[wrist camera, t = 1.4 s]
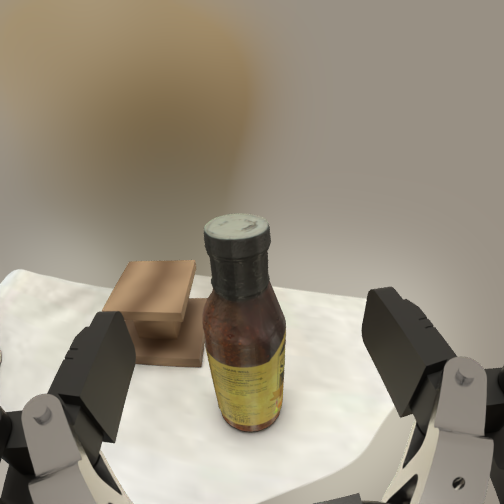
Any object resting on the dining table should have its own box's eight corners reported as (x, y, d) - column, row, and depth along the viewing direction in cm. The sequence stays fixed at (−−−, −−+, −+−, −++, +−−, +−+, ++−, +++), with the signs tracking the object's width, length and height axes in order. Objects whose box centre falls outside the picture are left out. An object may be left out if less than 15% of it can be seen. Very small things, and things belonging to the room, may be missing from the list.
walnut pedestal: (114, 361, 32) (92, 312, 28) (137, 306, 42) (124, 259, 38) (201, 367, 32) (190, 316, 28) (209, 306, 42) (203, 257, 38)
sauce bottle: (292, 420, 26) (315, 239, 16) (232, 442, 24) (203, 265, 14) (264, 375, 31) (265, 201, 22) (210, 393, 29) (178, 216, 19)
